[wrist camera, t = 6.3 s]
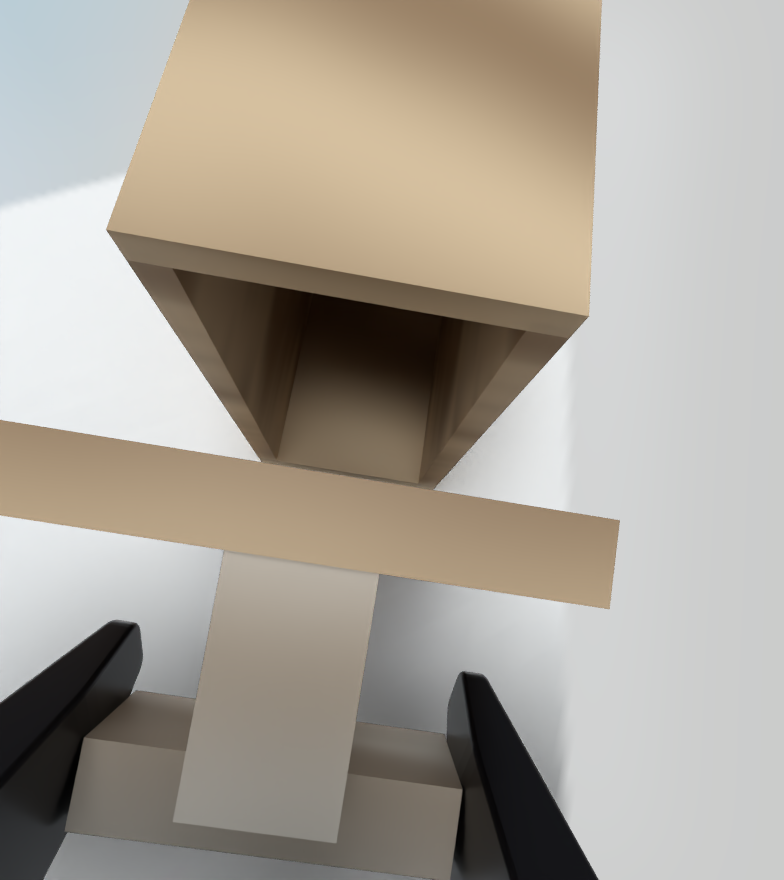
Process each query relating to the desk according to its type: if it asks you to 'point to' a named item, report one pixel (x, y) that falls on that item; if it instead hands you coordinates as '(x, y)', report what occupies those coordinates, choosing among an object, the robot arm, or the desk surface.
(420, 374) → the carton
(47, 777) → the robot arm
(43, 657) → the desk surface
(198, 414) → the desk surface
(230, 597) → the flap
